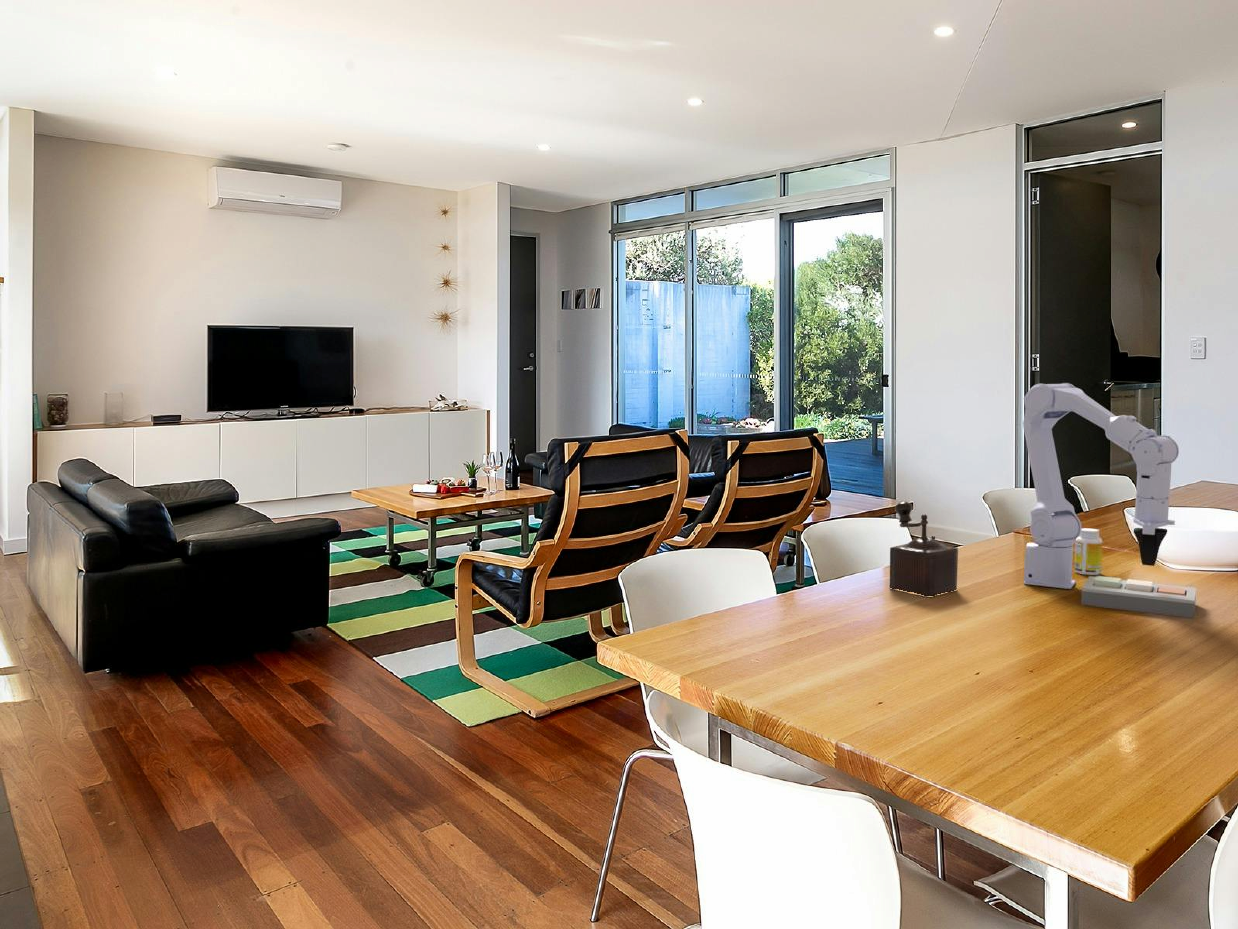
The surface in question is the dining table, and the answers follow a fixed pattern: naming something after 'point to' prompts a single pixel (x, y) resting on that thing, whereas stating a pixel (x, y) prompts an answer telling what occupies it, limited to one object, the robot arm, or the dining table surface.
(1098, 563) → the supplement bottle
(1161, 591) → the terracotta key
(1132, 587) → the cream key
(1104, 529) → the dining table surface
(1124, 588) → the keypad base
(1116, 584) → the sage key
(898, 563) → the manual coffee grinder
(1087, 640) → the dining table surface
